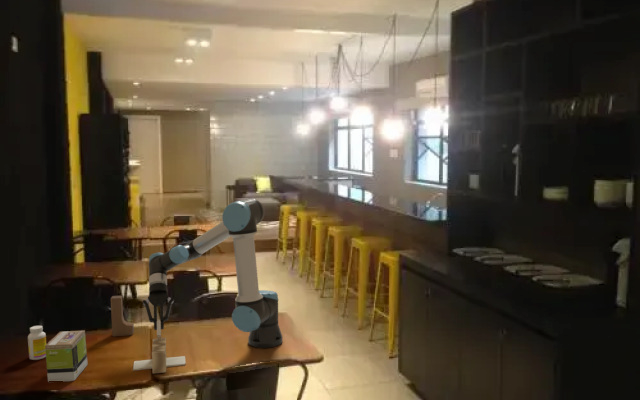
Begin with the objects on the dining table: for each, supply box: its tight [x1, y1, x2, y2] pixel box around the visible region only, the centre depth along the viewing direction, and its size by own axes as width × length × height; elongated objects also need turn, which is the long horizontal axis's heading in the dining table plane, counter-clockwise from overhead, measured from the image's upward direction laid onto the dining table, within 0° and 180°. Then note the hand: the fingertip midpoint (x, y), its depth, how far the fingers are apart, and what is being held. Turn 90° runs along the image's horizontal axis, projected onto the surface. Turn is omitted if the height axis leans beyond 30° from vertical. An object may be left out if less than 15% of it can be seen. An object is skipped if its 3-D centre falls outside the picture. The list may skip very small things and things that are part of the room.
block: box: [151, 337, 167, 374], centre depth 218 cm, size 5×8×16 cm
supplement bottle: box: [27, 325, 47, 361], centre depth 227 cm, size 7×7×13 cm
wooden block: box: [110, 295, 135, 337], centre depth 253 cm, size 9×4×18 cm, turn 102°
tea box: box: [45, 329, 89, 383], centre depth 211 cm, size 15×10×15 cm, turn 5°
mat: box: [132, 355, 187, 371], centre depth 220 cm, size 20×8×1 cm, turn 105°
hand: (159, 336), depth 223 cm, fingers closed
